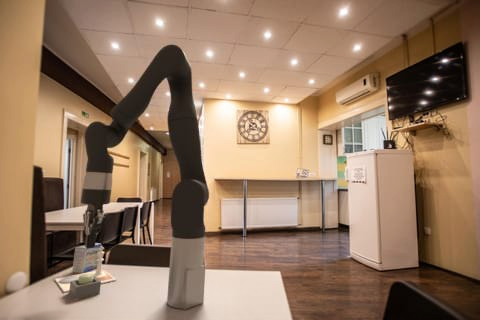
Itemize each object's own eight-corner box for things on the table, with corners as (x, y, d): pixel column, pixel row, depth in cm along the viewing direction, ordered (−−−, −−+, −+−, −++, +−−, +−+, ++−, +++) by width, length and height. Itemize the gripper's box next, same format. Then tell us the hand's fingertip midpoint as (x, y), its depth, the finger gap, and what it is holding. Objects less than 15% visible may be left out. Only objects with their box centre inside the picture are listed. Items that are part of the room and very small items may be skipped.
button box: (99, 293, 66) (100, 281, 66) (74, 300, 62) (76, 287, 62) (93, 287, 70) (94, 276, 70) (69, 292, 66) (70, 281, 66)
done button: (94, 284, 66) (95, 275, 67) (79, 288, 64) (80, 279, 64) (90, 281, 69) (91, 272, 69) (76, 284, 66) (77, 275, 66)
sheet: (116, 280, 76) (116, 278, 76) (63, 292, 66) (64, 290, 66) (102, 270, 84) (103, 269, 85) (54, 280, 74) (54, 278, 74)
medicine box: (82, 273, 81) (85, 248, 82) (71, 272, 81) (74, 247, 83) (99, 266, 88) (102, 243, 90) (89, 265, 89) (92, 242, 90)
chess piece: (85, 278, 75) (90, 246, 77) (101, 274, 79) (104, 243, 81) (94, 281, 73) (98, 248, 74) (109, 277, 77) (113, 245, 79)
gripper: (118, 189, 68) (111, 250, 66) (103, 188, 77) (96, 242, 75) (89, 187, 63) (81, 254, 60) (77, 187, 72) (68, 245, 69)
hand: (89, 247), depth 68 cm, fingers closed
